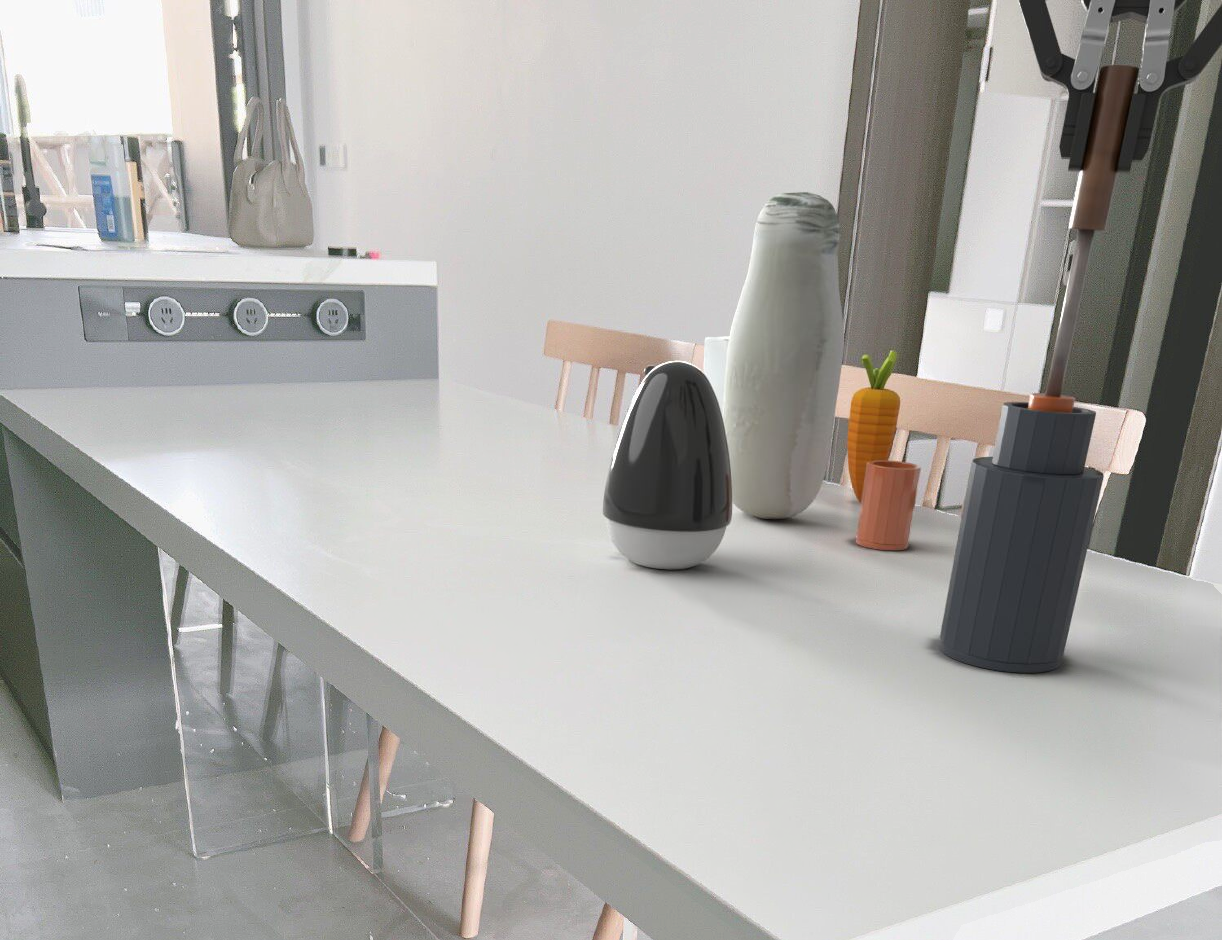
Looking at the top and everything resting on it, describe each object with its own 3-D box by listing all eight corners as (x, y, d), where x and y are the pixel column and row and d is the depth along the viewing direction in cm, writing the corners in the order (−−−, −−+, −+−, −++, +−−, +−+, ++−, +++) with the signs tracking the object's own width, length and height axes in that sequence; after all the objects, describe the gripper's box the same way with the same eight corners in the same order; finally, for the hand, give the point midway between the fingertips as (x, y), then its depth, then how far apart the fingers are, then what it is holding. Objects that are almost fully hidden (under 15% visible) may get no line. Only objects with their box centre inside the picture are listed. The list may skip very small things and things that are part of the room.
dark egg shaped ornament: (691, 545, 105) (707, 356, 98) (749, 575, 96) (771, 370, 90) (579, 548, 101) (589, 352, 94) (630, 580, 92) (644, 366, 86)
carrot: (840, 505, 126) (862, 350, 120) (834, 496, 131) (854, 346, 124) (888, 508, 126) (912, 353, 120) (881, 499, 131) (903, 350, 124)
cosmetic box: (782, 482, 137) (798, 340, 130) (742, 486, 133) (758, 340, 127) (730, 470, 142) (744, 333, 136) (691, 473, 139) (704, 332, 133)
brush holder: (910, 543, 111) (923, 464, 108) (904, 553, 107) (917, 471, 104) (860, 536, 112) (871, 458, 109) (851, 546, 108) (863, 465, 105)
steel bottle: (1062, 648, 83) (1116, 408, 76) (1060, 680, 76) (1118, 420, 69) (944, 630, 85) (987, 396, 78) (932, 660, 78) (978, 407, 72)
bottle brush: (1050, 512, 77) (1144, 71, 67) (1049, 519, 75) (1146, 64, 65) (1008, 507, 78) (1094, 70, 68) (1006, 514, 76) (1095, 63, 66)
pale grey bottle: (840, 522, 118) (885, 197, 106) (764, 531, 112) (803, 187, 100) (767, 503, 125) (801, 196, 113) (692, 510, 119) (721, 187, 107)
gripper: (1317, -198, 63) (1224, 182, 70) (1037, -188, 67) (977, 171, 74) (1343, -253, 56) (1238, 172, 63) (1031, -239, 60) (966, 160, 67)
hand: (1098, 170), depth 69 cm, fingers closed on bottle brush, 2 cm apart
